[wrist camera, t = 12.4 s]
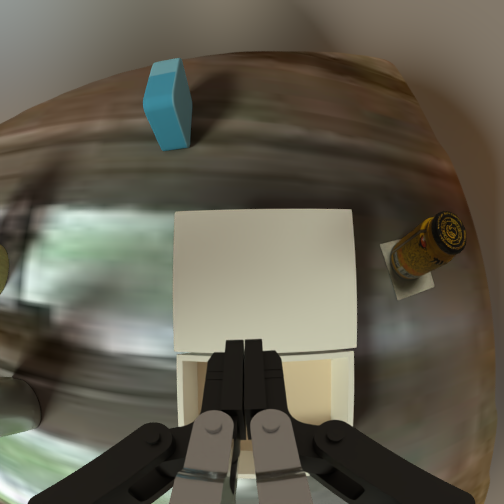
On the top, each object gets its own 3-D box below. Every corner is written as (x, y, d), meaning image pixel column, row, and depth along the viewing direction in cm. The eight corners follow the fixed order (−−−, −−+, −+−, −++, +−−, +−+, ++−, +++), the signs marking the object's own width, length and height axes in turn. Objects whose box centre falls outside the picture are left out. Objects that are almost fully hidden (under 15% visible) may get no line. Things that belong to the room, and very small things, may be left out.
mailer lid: (351, 209, 29) (349, 211, 29) (175, 211, 29) (176, 213, 30) (356, 347, 27) (354, 346, 27) (174, 351, 27) (176, 350, 28)
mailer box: (332, 447, 30) (349, 469, 23) (196, 450, 31) (182, 474, 23) (334, 349, 35) (353, 351, 27) (193, 352, 35) (176, 354, 27)
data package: (169, 107, 48) (153, 59, 36) (192, 103, 48) (180, 53, 36) (163, 155, 44) (141, 105, 33) (189, 151, 44) (172, 99, 33)
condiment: (416, 235, 39) (459, 200, 28) (434, 286, 37) (483, 265, 25) (379, 244, 39) (418, 209, 27) (396, 300, 36) (444, 282, 25)
